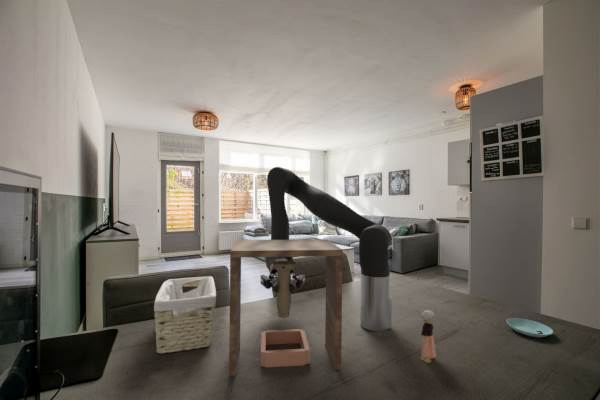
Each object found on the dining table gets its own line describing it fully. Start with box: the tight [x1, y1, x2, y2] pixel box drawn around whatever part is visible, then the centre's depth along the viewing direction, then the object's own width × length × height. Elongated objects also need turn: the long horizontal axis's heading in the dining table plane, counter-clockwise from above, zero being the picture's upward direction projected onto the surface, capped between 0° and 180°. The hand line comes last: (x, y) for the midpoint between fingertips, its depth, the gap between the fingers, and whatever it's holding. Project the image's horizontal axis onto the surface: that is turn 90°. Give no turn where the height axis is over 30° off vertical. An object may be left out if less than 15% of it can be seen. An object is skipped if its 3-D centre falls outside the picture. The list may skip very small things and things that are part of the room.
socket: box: [260, 328, 311, 368], centre depth 78 cm, size 12×12×4 cm
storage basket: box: [153, 275, 217, 354], centre depth 88 cm, size 24×16×15 cm
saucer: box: [505, 317, 554, 338], centre depth 92 cm, size 12×12×2 cm
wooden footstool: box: [228, 239, 343, 377], centre depth 78 cm, size 27×18×30 cm, turn 97°
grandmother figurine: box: [419, 309, 437, 364], centre depth 76 cm, size 8×4×13 cm, turn 148°
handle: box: [273, 260, 297, 319], centre depth 80 cm, size 5×6×15 cm
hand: (284, 289), depth 77 cm, fingers closed on handle, 3 cm apart
